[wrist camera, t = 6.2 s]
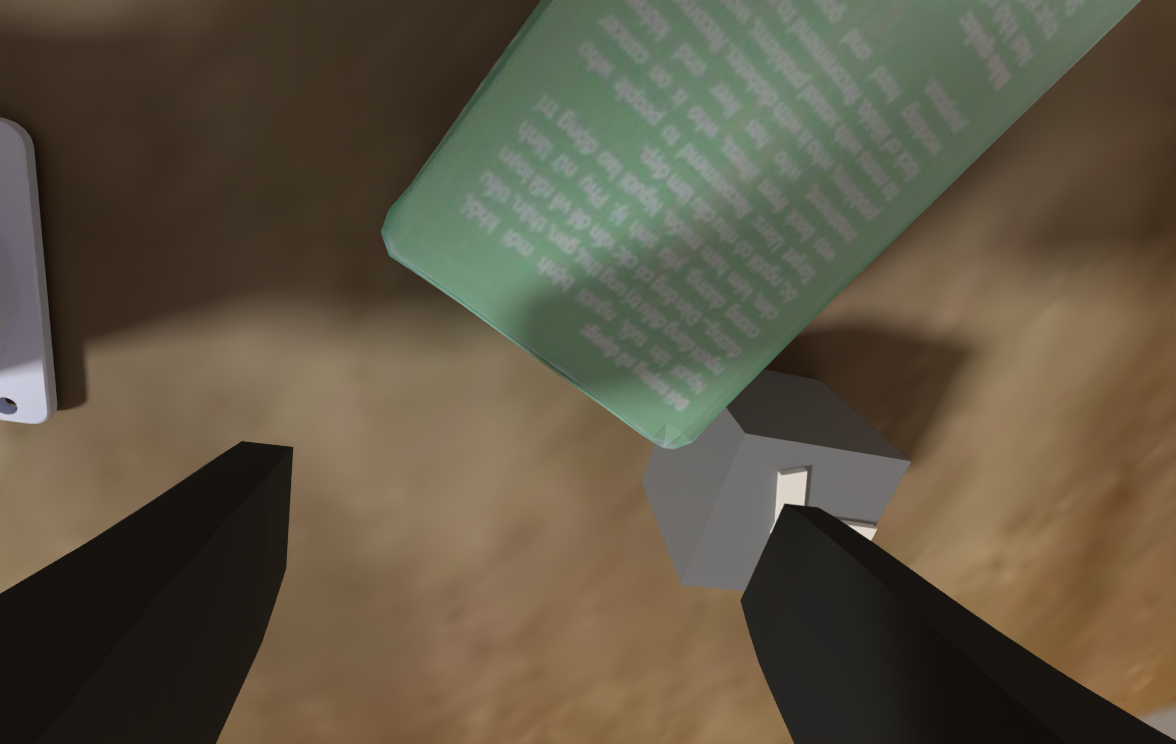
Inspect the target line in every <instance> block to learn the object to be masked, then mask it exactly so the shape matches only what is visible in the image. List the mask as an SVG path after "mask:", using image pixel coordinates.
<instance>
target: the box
mask: <svg viewBox="0 0 1176 744" xmlns="http://www.w3.org/2000/svg"><path fill="white" fill-rule="evenodd" d="M1140 1H1141V0H541V1H540V2H539V3H538V5H537V6H536V7H535V9H534V10H533V12H532V13H531V14H530V16H529V17H528V18H527V20H526V21H525V23H524V24H523V25H522V27H521V28H520V30H519V31H518V32H517V34H516V35H515V37H514V38H513V39H512V41H511V42H510V44H509V45H508V46H507V48H506V49H505V50H504V52H503V53H502V55H501V56H500V57H499V59H498V60H497V62H496V63H495V64H494V66H493V67H492V69H491V70H490V71H489V73H488V74H487V76H486V77H485V78H484V80H483V81H482V82H481V84H480V85H479V87H478V88H477V89H476V91H475V92H474V94H473V95H472V97H471V98H470V99H469V101H468V102H467V104H466V105H465V107H464V108H463V110H462V111H461V113H460V114H459V115H458V117H457V118H456V120H455V121H454V123H453V124H452V126H451V127H450V129H449V130H448V131H447V133H446V134H445V136H444V137H443V139H442V140H441V142H440V143H439V144H438V146H437V147H436V149H435V150H434V152H433V153H432V154H431V156H430V157H429V159H428V160H427V161H426V163H425V164H424V166H423V167H422V168H421V170H420V171H419V173H418V174H417V176H416V178H415V179H414V181H413V182H412V183H411V185H410V186H409V187H408V188H407V189H406V190H405V191H404V193H403V194H402V195H401V196H400V197H399V198H398V199H397V200H396V202H395V203H394V204H393V205H392V206H391V207H390V208H389V210H388V212H387V215H386V218H385V221H384V224H383V227H382V230H381V234H382V237H383V240H384V243H385V245H386V248H387V251H388V254H389V256H390V257H392V258H393V259H395V260H396V261H398V262H399V263H401V264H402V265H404V266H405V267H407V268H408V269H410V270H412V271H413V272H415V273H416V274H418V275H419V276H421V277H422V278H424V279H425V280H426V281H428V282H429V283H431V284H432V285H434V286H435V287H437V288H438V289H440V290H441V291H443V292H444V293H445V294H447V295H448V296H450V297H451V298H453V299H454V300H456V301H457V302H459V303H460V304H461V305H463V306H464V307H466V308H467V309H468V310H470V311H471V312H473V313H474V314H475V315H477V316H478V317H479V318H481V319H482V320H484V321H485V322H486V323H488V324H489V325H490V326H492V327H493V328H495V329H496V330H497V331H499V332H500V333H501V334H503V335H504V336H506V337H507V338H508V339H510V340H511V341H512V342H514V343H515V344H516V345H518V346H519V347H521V348H522V349H523V350H525V351H526V352H527V353H529V354H530V355H532V356H533V357H534V358H536V359H537V360H538V361H540V362H541V363H543V364H544V365H545V366H547V367H548V368H550V369H551V370H552V371H554V372H555V373H557V374H558V375H559V376H561V377H562V378H564V379H565V380H566V381H568V382H569V383H571V384H572V385H573V386H575V387H576V388H578V389H579V390H581V391H582V392H583V393H585V394H586V395H588V396H589V397H590V398H592V399H593V400H595V401H596V402H597V403H599V404H600V405H602V406H603V407H604V408H606V409H607V410H609V411H610V412H611V413H613V414H614V415H615V416H617V417H618V418H619V419H621V420H622V421H624V422H625V423H626V424H628V425H629V426H630V427H632V428H633V429H635V430H636V431H637V432H639V433H640V434H641V435H643V436H644V437H646V438H647V439H649V440H650V441H652V442H653V443H655V444H657V445H659V446H661V447H662V448H667V449H676V448H679V447H681V446H684V445H687V444H689V443H692V442H693V441H694V440H695V439H696V438H697V437H698V436H699V434H700V433H701V432H702V431H703V430H704V429H705V428H706V427H707V426H708V425H709V424H710V423H711V422H712V421H713V420H714V419H715V418H716V417H717V416H718V414H719V413H720V412H721V411H722V410H723V409H724V408H725V407H726V406H727V405H728V404H729V403H730V402H731V401H732V400H733V399H734V398H735V397H736V396H737V395H738V394H739V393H740V392H741V391H742V390H743V389H744V388H745V387H746V386H747V385H748V384H749V383H750V382H751V381H752V380H753V379H754V378H755V377H756V376H757V375H758V374H759V373H760V372H761V371H762V370H763V369H764V368H765V367H766V366H767V365H768V364H769V363H770V362H771V361H772V360H773V359H774V358H775V357H776V356H777V355H778V354H779V353H780V352H781V351H782V350H783V349H784V348H785V347H786V346H787V345H788V344H789V343H790V342H791V341H792V340H793V339H794V338H795V337H796V336H797V335H798V334H799V333H800V332H801V331H802V330H803V329H804V328H805V327H806V326H807V325H808V324H809V323H810V322H811V321H812V320H813V319H814V318H815V317H816V316H817V315H818V314H819V313H820V312H821V311H822V310H823V309H824V308H825V307H826V306H827V305H828V304H829V303H830V302H831V301H832V300H833V299H834V298H835V297H836V296H837V295H838V294H839V293H840V292H841V291H842V290H843V289H844V288H845V287H846V286H847V285H848V284H849V283H850V282H851V281H853V280H854V279H855V278H856V277H857V276H858V275H859V274H860V273H861V272H862V271H863V270H864V269H865V268H866V267H867V266H868V265H869V264H870V263H871V262H872V261H873V260H874V259H875V258H876V257H877V256H878V255H879V254H880V253H881V252H882V251H883V250H884V249H885V248H886V247H888V246H889V245H890V244H891V243H892V242H893V241H894V240H895V239H896V238H897V237H898V236H899V235H900V234H901V233H902V232H903V231H904V230H905V229H906V228H907V227H908V226H909V225H910V224H911V223H912V222H913V221H914V220H915V219H916V218H917V217H918V216H919V215H920V214H921V213H922V212H924V211H925V210H926V209H927V208H928V207H929V206H930V205H931V204H932V203H933V202H934V201H935V200H936V199H937V198H938V197H939V196H940V195H941V194H942V193H943V192H944V191H945V190H946V189H947V188H948V187H949V186H950V185H951V184H952V183H953V182H954V181H955V180H956V179H957V178H958V177H959V176H960V175H961V174H962V173H963V172H964V171H965V170H966V169H967V168H968V167H969V166H970V165H971V164H972V163H974V162H975V161H976V160H977V159H978V158H979V157H980V156H981V155H982V154H983V153H984V152H985V151H986V150H987V149H988V148H989V147H990V146H991V145H992V144H993V143H994V142H995V141H996V140H997V139H998V138H999V137H1000V136H1001V135H1002V134H1003V133H1004V132H1005V131H1006V130H1007V129H1008V128H1009V127H1010V126H1011V125H1012V124H1013V123H1014V122H1016V121H1017V120H1018V119H1019V118H1020V117H1021V116H1022V115H1023V114H1024V113H1025V112H1026V111H1027V110H1028V109H1029V108H1030V107H1031V106H1032V105H1033V104H1034V103H1035V102H1036V101H1037V100H1038V99H1039V98H1040V97H1041V96H1042V95H1044V94H1045V93H1046V92H1047V91H1048V90H1049V89H1050V88H1051V87H1052V86H1053V85H1054V84H1055V83H1056V82H1057V81H1058V80H1059V79H1060V78H1061V77H1062V76H1063V75H1064V74H1065V73H1066V72H1067V71H1068V70H1069V69H1070V68H1071V67H1073V66H1074V65H1075V64H1076V63H1077V62H1078V61H1079V60H1080V59H1081V58H1082V57H1083V56H1084V55H1085V54H1086V53H1087V52H1088V51H1089V50H1090V49H1091V48H1092V47H1093V46H1094V45H1095V44H1096V43H1097V42H1098V41H1099V40H1100V39H1102V38H1103V37H1104V36H1105V35H1106V34H1107V33H1108V32H1109V31H1110V30H1111V29H1112V28H1113V27H1114V26H1115V25H1116V24H1117V23H1118V22H1119V21H1120V20H1121V19H1122V18H1123V17H1124V16H1125V15H1126V14H1127V13H1128V12H1129V11H1130V10H1132V9H1133V8H1134V7H1135V6H1136V5H1137V4H1138V3H1139V2H1140Z"/></svg>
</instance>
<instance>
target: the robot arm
mask: <svg viewBox="0 0 1176 744" xmlns="http://www.w3.org/2000/svg"><path fill="white" fill-rule="evenodd" d="M5 398H9V399H11V400H12V401H14V402H15V403H16V405H17V407H18V408H17V407H14V406H11V405H10V404H9V403H7V402H6V399H5ZM56 411H57V395H56V384H55V373H54V362H53V351H52V340H51V329H50V318H49V307H48V296H47V285H46V274H45V263H44V252H43V241H42V230H41V219H40V208H39V197H38V186H37V175H36V164H35V153H34V145H33V142H32V139H31V137H30V136H29V134H28V133H27V131H26V130H25V129H24V128H22V127H21V126H20V125H19V124H17V123H16V122H13V121H11V120H8V119H5V118H1V117H0V420H6V421H13V422H21V423H29V424H39V423H42V422H45V421H46V420H48V419H49V418H50V417H51V416H53V415H54V413H55V412H56ZM292 458H293V447H288V446H279V445H271V444H262V443H253V442H244V441H241V442H240V443H238V444H237V445H235V446H234V447H232V448H231V449H229V450H227V451H226V452H224V453H223V454H221V455H220V456H218V457H217V458H215V459H214V460H212V461H211V462H209V463H208V464H206V465H205V466H203V467H202V468H200V469H199V470H197V471H196V472H194V473H193V474H191V475H190V476H188V477H187V478H185V479H184V480H182V481H181V482H179V483H178V484H176V485H175V486H173V487H172V488H170V489H169V490H167V491H166V492H164V493H163V494H161V495H160V496H158V497H157V498H155V499H154V500H152V501H151V502H149V503H148V504H146V505H145V506H143V507H142V508H140V509H139V510H137V511H135V512H134V513H132V514H131V515H129V516H128V517H126V518H125V519H123V520H121V521H120V522H118V523H117V524H115V525H114V526H112V527H110V528H109V529H107V530H106V531H104V532H103V533H101V534H100V535H98V536H96V537H95V538H93V539H92V540H90V541H89V542H87V543H85V544H84V545H82V546H80V547H79V548H77V549H75V550H74V551H72V552H70V553H69V554H67V555H65V556H63V557H62V558H60V559H58V560H57V561H55V562H53V563H52V564H50V565H48V566H47V567H45V568H43V569H41V570H40V571H38V572H36V573H35V574H33V575H31V576H30V577H28V578H26V579H24V580H23V581H21V582H19V583H18V584H16V585H14V586H13V587H11V588H9V589H7V590H6V591H4V592H2V593H1V594H0V744H216V742H217V740H218V737H219V735H220V733H221V731H222V729H223V727H224V724H225V722H226V720H227V718H228V716H229V714H230V711H231V709H232V707H233V705H234V703H235V701H236V698H237V696H238V694H239V692H240V690H241V687H242V685H243V683H244V681H245V679H246V676H247V674H248V672H249V670H250V668H251V666H252V663H253V661H254V659H255V657H256V654H257V652H258V650H259V648H260V645H261V643H262V641H263V638H264V635H265V632H266V629H267V626H268V623H269V620H270V617H271V614H272V611H273V608H274V605H275V602H276V599H277V595H278V592H279V589H280V586H281V583H282V580H283V577H284V574H285V570H286V561H287V544H288V527H289V510H290V492H291V475H292ZM741 604H742V608H743V611H744V615H745V618H746V622H747V626H748V629H749V633H750V636H751V639H752V643H753V646H754V649H755V652H756V655H757V658H758V661H759V664H760V667H761V669H762V671H763V674H764V676H765V679H766V681H767V683H768V685H769V688H770V690H771V692H772V695H773V697H774V699H775V701H776V704H777V706H778V708H779V711H780V713H781V715H782V717H783V720H784V722H785V724H786V726H787V728H788V731H789V733H790V735H791V737H792V740H793V742H794V744H1176V740H1174V739H1172V738H1170V737H1169V736H1167V735H1165V734H1163V733H1161V732H1160V731H1158V730H1156V729H1154V728H1153V727H1151V726H1149V725H1147V724H1146V723H1144V722H1142V721H1141V720H1139V719H1137V718H1136V717H1134V716H1132V715H1131V714H1129V713H1127V712H1126V711H1124V710H1122V709H1121V708H1119V707H1117V706H1116V705H1114V704H1112V703H1111V702H1109V701H1107V700H1106V699H1104V698H1102V697H1101V696H1099V695H1097V694H1096V693H1094V692H1092V691H1091V690H1089V689H1087V688H1086V687H1084V686H1082V685H1081V684H1079V683H1077V682H1076V681H1074V680H1073V679H1071V678H1069V677H1068V676H1066V675H1065V674H1063V673H1062V672H1060V671H1058V670H1057V669H1055V668H1054V667H1052V666H1051V665H1049V664H1047V663H1046V662H1044V661H1043V660H1041V659H1040V658H1038V657H1037V656H1035V655H1034V654H1032V653H1031V652H1029V651H1028V650H1026V649H1025V648H1023V647H1022V646H1020V645H1019V644H1017V643H1016V642H1014V641H1013V640H1011V639H1010V638H1008V637H1007V636H1005V635H1004V634H1002V633H1001V632H999V631H998V630H996V629H995V628H993V627H992V626H990V625H989V624H988V623H986V622H985V621H983V620H982V619H980V618H979V617H977V616H976V615H974V614H973V613H972V612H970V611H969V610H967V609H966V608H964V607H963V606H962V605H960V604H959V603H957V602H956V601H954V600H953V599H952V598H950V597H949V596H947V595H946V594H945V593H943V592H942V591H940V590H939V589H938V588H936V587H935V586H933V585H932V584H931V583H929V582H928V581H926V580H925V579H924V578H922V577H921V576H919V575H918V574H917V573H915V572H914V571H912V570H911V569H910V568H908V567H907V566H905V565H904V564H903V563H901V562H900V561H898V560H897V559H896V558H894V557H893V556H891V555H890V554H889V553H887V552H886V551H884V550H883V549H882V548H880V547H879V546H877V545H876V544H875V543H873V542H872V541H870V540H869V539H867V538H866V537H864V536H863V535H862V534H860V533H859V532H857V531H856V530H854V529H853V528H851V527H850V526H848V525H847V524H845V523H844V522H842V521H841V520H839V519H837V518H836V517H834V516H833V515H831V514H829V513H827V512H826V511H824V510H822V509H820V508H819V507H811V506H803V505H794V504H785V503H784V505H783V508H782V510H781V512H780V514H779V517H778V519H777V521H776V523H775V525H774V528H773V530H772V532H771V534H770V536H769V539H768V541H767V543H766V545H765V548H764V550H763V552H762V554H761V556H760V559H759V561H758V563H757V565H756V567H755V570H754V572H753V574H752V576H751V579H750V581H749V583H748V585H747V587H746V590H745V592H744V594H743V596H742V598H741Z"/></svg>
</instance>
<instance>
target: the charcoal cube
mask: <svg viewBox="0 0 1176 744" xmlns="http://www.w3.org/2000/svg"><path fill="white" fill-rule="evenodd" d="M911 462H912V461H911V460H909V459H908V458H907V457H906V456H905V455H904V454H903V453H902V452H901V451H899V450H898V449H897V448H896V447H895V446H894V445H893V444H892V443H891V442H889V441H888V440H887V439H886V438H885V437H884V436H883V435H882V434H881V433H879V432H878V431H877V430H876V429H875V428H874V427H873V426H872V425H871V424H869V423H868V422H867V421H866V420H865V419H864V418H863V417H862V416H861V415H859V414H858V413H857V412H856V411H855V410H854V409H853V408H852V407H850V406H849V405H848V404H847V403H846V402H845V401H844V400H843V399H842V398H840V397H839V396H838V395H837V394H836V393H835V392H834V391H833V390H832V389H830V388H829V387H828V386H827V385H826V384H825V383H824V382H823V381H821V380H816V379H811V378H806V377H801V376H796V375H791V374H786V373H781V372H776V371H771V370H766V369H763V370H762V371H761V372H760V373H759V374H758V375H757V376H756V377H755V378H754V379H753V380H752V381H751V382H750V383H749V384H748V385H747V386H746V387H745V388H744V389H743V390H742V391H741V392H740V393H739V394H738V395H737V396H736V397H735V398H734V399H733V400H732V401H731V402H730V403H729V404H728V405H727V406H726V407H725V408H724V409H723V410H722V411H721V412H720V413H719V414H718V416H717V417H716V418H715V419H714V420H713V421H712V422H711V423H710V424H709V425H708V426H707V427H706V428H705V429H704V430H703V431H702V432H701V433H700V434H699V436H698V437H697V438H696V439H695V440H694V441H693V442H692V443H689V444H687V445H684V446H681V447H679V448H676V449H667V448H662V447H661V446H659V445H657V444H655V445H654V448H653V451H652V454H651V457H650V459H649V462H648V465H647V468H646V471H645V473H644V476H643V479H642V484H643V486H644V489H645V491H646V494H647V497H648V499H649V502H650V504H651V507H652V510H653V512H654V515H655V518H656V520H657V523H658V525H659V528H660V531H661V533H662V536H663V538H664V541H665V544H666V546H667V549H668V552H669V554H670V557H671V559H672V562H673V565H674V567H675V570H676V572H677V575H678V578H679V580H680V583H681V585H688V586H698V587H708V588H718V589H729V590H739V591H745V590H746V587H747V585H748V583H749V581H750V579H751V576H752V574H753V572H754V570H755V567H756V565H757V563H758V561H759V559H760V556H761V554H762V552H763V550H764V548H765V545H766V543H767V541H768V539H769V536H770V534H771V532H772V530H773V528H774V525H775V523H776V521H777V519H778V517H779V514H780V512H781V510H782V508H783V505H784V503H785V504H794V505H803V506H811V507H819V508H820V509H822V510H824V511H826V512H827V513H829V514H831V515H833V516H834V517H836V518H837V519H839V520H841V521H842V522H844V523H845V524H847V525H848V526H850V527H851V528H853V529H854V530H856V531H857V532H859V533H860V534H862V535H863V536H864V537H866V538H867V539H869V540H870V541H871V539H872V538H873V536H874V534H875V532H876V530H877V528H876V527H875V526H876V524H877V522H878V521H879V519H880V517H881V515H882V514H883V512H884V510H885V508H886V506H887V505H888V503H889V501H890V499H891V497H892V496H893V494H894V492H895V490H896V488H897V487H898V485H899V483H900V481H901V479H902V478H903V476H904V474H905V472H906V471H907V469H908V467H909V465H910V463H911Z"/></svg>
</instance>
